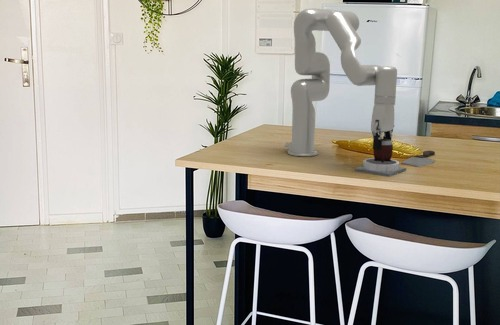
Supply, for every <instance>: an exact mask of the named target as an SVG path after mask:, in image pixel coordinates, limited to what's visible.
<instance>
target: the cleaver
mask: <svg viewBox="0 0 500 325" xmlns="http://www.w3.org/2000/svg"><path fill="white" fill-rule="evenodd" d="M422 152H423V155H421V156H416V157H412V156H411V157H409V158H407V159H405V160H403V161H402V162H401V165H404V166H411V167H417V168H422V167H426V166H429V165H431V164H433V163H434V162H436V160H435V159H432V158H429V157H431V156H434V155H436V152H435V151H434V150H424V151H422Z"/></svg>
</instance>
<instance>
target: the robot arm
mask: <svg viewBox="0 0 500 325" xmlns="http://www.w3.org/2000/svg"><path fill="white" fill-rule="evenodd" d="M359 27H360V19H359V17H358V16H357V14H356V13H354V12H352V11H346V10H345V11H344V10H335V9H325V8H305V9H302V10H301V11H299V12H298V14H296V16H295V19H294V21H293V34H294V70H295V73H297V75H300V76H311V78H302V79H297V80H295V81H294V82H293V83H292V85H291V87H290V98H291V104H292V107H291V108H292V116H291V117H292V122H291V124H292V126H291V142H290V141H289V142H288V141H286V142H285V144H284V147H285V148H289V149H288V150H287V154H288V155H291V156H296V157H314V156H316V155H318V151H317V150H315V134H316V132H315V130H316V111H315V107H314V106H315V105H314V104H313V102H319V101H323V100H325V99H326V98H328V96H329V93H330V86H331V83H330V80H331V79H330V77H331V64H330V63H331V62H330V60H329V57H328V56H327V55H326V54H325V53H323V52H320V51H316V48H317V42H316V38H315V35H314V33H313V31H319V32H321V31H324V32H325V31H326V32H329V33H330V35H331V36H332V39H333V40H334V42H335V44H336V45H337V46H338V48H339V50H340V51H341V52H340V65H341V68H342V71H343V72H344V74H345V76H346V77H347V79H348V80H349V81H350V82H351V83H352V84H353V85H355V86H357V87H365V86H374V101H373V102H374V104H373V108H372V115H371V122H370V123H371V124H370V130H371V133H372V134H371V135H372V140H373V142H372V150H381V148H382V139H389V140H391V141H392V137H393V131H394V128H395V106H396V96H397V95H396V94H397V80H398V69H397V68H396V67H395V66H388V65H387V66H385V65H384V66H382V65H378V64H377V65H376V64H361V63H360V61H359V60H358V58H357V56H356V52H355V51H356V50H357V49H358V48H359V47H360V45H361V43H362V39H361V37H360V36H359V34H358V32H357V31H358V30H359ZM378 130H380V131H378ZM379 133H380V134H379ZM383 135H384V136H383ZM381 137H382V139H381Z"/></svg>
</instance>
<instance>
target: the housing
mask: <svg viewBox="0 0 500 325" xmlns="http://www.w3.org/2000/svg"><path fill="white" fill-rule="evenodd" d="M374 159H375V158H374V157H371V158H369V157H368V158H365V159H363V160H362V161H363V162H362V165H361V166H357V167H355V168H354V171H355V172H359V173H364V172H365V174H372V175H376V174H377V176H378V175H379V176H384V177H390V178H391V177H393V176H395V175H397V173H398V174H400V173H403V172H406V171H407V167H404V166H400V161H399V160H396V159H392V158H391V159H390V160H391V162H389V161H384V163H382V162H381V161H374ZM392 175H393V176H392Z"/></svg>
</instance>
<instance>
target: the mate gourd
mask: <svg viewBox="0 0 500 325" xmlns="http://www.w3.org/2000/svg"><path fill="white" fill-rule="evenodd" d="M378 131H380V130H378ZM378 134H380V133H378ZM381 139H382V148H381V150H374V149H372V150H373V158H375V159H374V161H381V162H382V163H384V161H389V162H391V160H390V159H392V156H393V150H394V146H393V142H392V139H391V140H389V139H383V136H382V137H381Z"/></svg>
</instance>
